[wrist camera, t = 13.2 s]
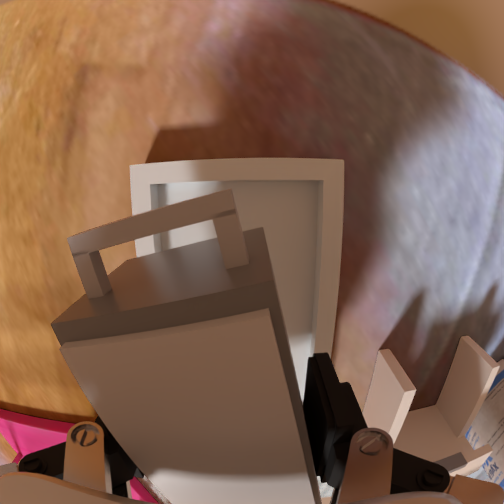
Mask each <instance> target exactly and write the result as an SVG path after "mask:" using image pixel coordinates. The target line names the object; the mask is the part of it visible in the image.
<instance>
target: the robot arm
mask: <svg viewBox="0 0 504 504" xmlns="http://www.w3.org/2000/svg"><path fill="white" fill-rule="evenodd" d="M303 410H304V415H305V420H306V425H307V430H308V435H309V440H310V446H311V451H312V456H313V461H314V467H315V472H316V476H320V478H321V483H324V482H327V484H328V485H330V486H332V487H333V488H334V489H333V493H332V497H331V501H330V504H503V501H504V490H503V488H502V487H501V486H500V485H498V484H496V483H491V482H487V481H482V480H478V479H474V478H470V477H466V476H462V475H458V474H456V475H455V476H450V474H449V473H448V471H447V469H445V468H444V467H443V466H441V465H439V464H437V463H434V462H431V461H428V460H425V459H422V458H419V457H417V456H414V455H411V454H409V453H406V452H403V451H401V450H398V449H396V448H393V439H392V438H391V436H390V435H389V434H388V433H387V432H386V431H384V430H382V429H379V428H368V427H367V424H366V422H365V419H364V417H363V414H362V412H361V409H360V407H359V404H358V402H357V399H356V397H355V395H354V392H353V390H352V387H351V385H350V383H348V382H344V383H340V382H339V380H338V377H337V374H336V372H335V369H334V367H333V364H332V361H331V359H330V356H329V354H328V352H324V353H314V354H313V357H308V363H307V373H306V382H305V391H304V400H303ZM134 477H139V478H143V477H144V474H143V473H142V471H141V470H140V469H139V468H138V467H137V466H136V464H135V463H134V462H133V461H132V460H131V458H130V457H129V456H128V455H127V453H126V452H125V451H124V450H123V448H122V447H121V446H120V444H119V443H118V442H117V440H116V439H115V438H114V436H113V435H112V434H111V432H110V431H109V430H108V428H107V427H106V425H105V424H104V423H103V421H102V420H101V418H100V417H99V415H98V417H97V419H96V421H95V422H90V421H84V422H79V423H77V424H75V425H74V426H72V427H71V428H70V429H69V431H68V433H67V439H66V441H65V442H62V443H60V444H57V445H54V446H51V447H48V448H45V449H42V450H39V451H36V452H32V453H29V454H27V455H25V456H24V457H23V458H22V459H21V461H20V463H19V464H18V465H17V464H16V462H14V463H10V464H6V465H1V466H0V504H156V503H151V502H145V501H140V500H135V499H132V494H131V487H130V481H129V480H131V479H133V478H134Z"/></svg>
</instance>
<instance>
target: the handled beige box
mask: <svg viewBox="0 0 504 504" xmlns="http://www.w3.org/2000/svg"><path fill="white" fill-rule="evenodd" d="M208 220H213V223H214V227H215V231H216V235H217V238H213V239H209V240H205V241H201V242H197V243H193V244H189V245H185V246H181V247H176V248H172V249H168V250H164V251H160V252H157V253H153V254H149V255H145V256H141V257H137V258H133V259H129V260H127V261H125V262H124V263H123V264H121V265H120V266H119V267H118V268H116V269H115V270H114V271H113V272H111V273H110V274H109V275H108V276H107V273H106V270H105V268H104V265H103V262H102V259H101V256H100V253H99V250H101V249H104V248H108V247H111V246H115V245H118V244H122V243H125V242H129V241H132V240H136V239H140V238H143V237H147V236H151V235H154V234H158V233H162V232H165V231H169V230H173V229H177V228H180V227H184V226H188V225H192V224H196V223H200V222H204V221H208ZM67 240H68V243H69V246H70V249H71V252H72V255H73V258H74V261H75V264H76V267H77V270H78V273H79V276H80V278H81V281H82V284H83V286H84V289H85V291H86V294H85V295H83V296H82V297H81V298H80V299H79V300H77V301H76V302H75V303H74V304H73V305H72V306H70V307H69V308H68V309H67V310H66V311H65V312H63V313H62V314H61V315H60V316H59V317H58V318H57V319H55V320H54V321H53V322H52V323H51V326H52V328H53V330H54V332H55V334H56V336H57V338H58V341H59V343H60V345H61V348H60V351H61V353H62V355H63V357H64V359H65V361H66V363H67V365H68V366H69V368H70V370H71V372H72V373H73V375H74V377H75V379H76V380H77V382H78V384H79V385H80V387H81V389H82V390H83V392H84V394H85V395H86V397H87V398H88V400H89V402H90V403H91V405H92V406H93V408H94V409H95V411H96V412H97V414H98V415H99V417H100V418H101V420H102V421H103V423H104V424H105V425H106V427H107V428H108V430H109V431H110V432H111V434H112V435H113V436H114V438H115V439H116V440H117V442H118V443H119V444H120V446H121V447H122V448H123V450H124V451H125V452H126V453H127V455H128V456H129V457H130V458H131V460H132V461H133V462H134V463H135V464H136V466H137V467H138V468H139V469H140V470H141V471H142V473H143V474H144V475H145V476H146V477H147V478H148V479H149V480H150V482H151V483H152V484H153V485H154V486H155V487H156V488H157V489H158V490H159V491H160V492H161V493H162V494H163V495H164V496H165V498H166V499H167V500H168V501H169V502H170V503H171V504H322V502H321V496H320V491H319V485H318V480H317V476H316V472H315V467H314V461H313V456H312V451H311V446H310V440H309V435H308V430H307V425H306V420H305V415H304V410H303V405H302V400H301V395H300V390H299V385H298V381H297V376H296V371H295V367H294V362H293V357H292V353H291V348H290V344H289V339H288V334H287V330H286V325H285V321H284V316H283V312H282V307H281V303H280V298H279V294H278V290H277V285H276V281H275V276H274V272H273V268H272V263H271V259H270V255H269V250H268V246H267V242H266V237H265V233H264V229H263V227H260V228H255V229H251V230H247V231H243V232H242V228H241V224H240V220H239V216H238V212H237V208H236V204H235V200H234V196H233V191H232V188H231V189H227V190H223V191H219V192H215V193H211V194H207V195H204V196H200V197H196V198H192V199H189V200H185V201H181V202H178V203H174V204H171V205H167V206H164V207H160V208H157V209H153V210H150V211H147V212H143V213H140V214H137V215H133V216H130V217H127V218H124V219H120V220H117V221H114V222H111V223H108V224H105V225H102V226H99V227H96V228H93V229H90V230H87V231H84V232H81V233H78V234H76V235H73V236H71V237H69V238H67Z"/></svg>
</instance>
